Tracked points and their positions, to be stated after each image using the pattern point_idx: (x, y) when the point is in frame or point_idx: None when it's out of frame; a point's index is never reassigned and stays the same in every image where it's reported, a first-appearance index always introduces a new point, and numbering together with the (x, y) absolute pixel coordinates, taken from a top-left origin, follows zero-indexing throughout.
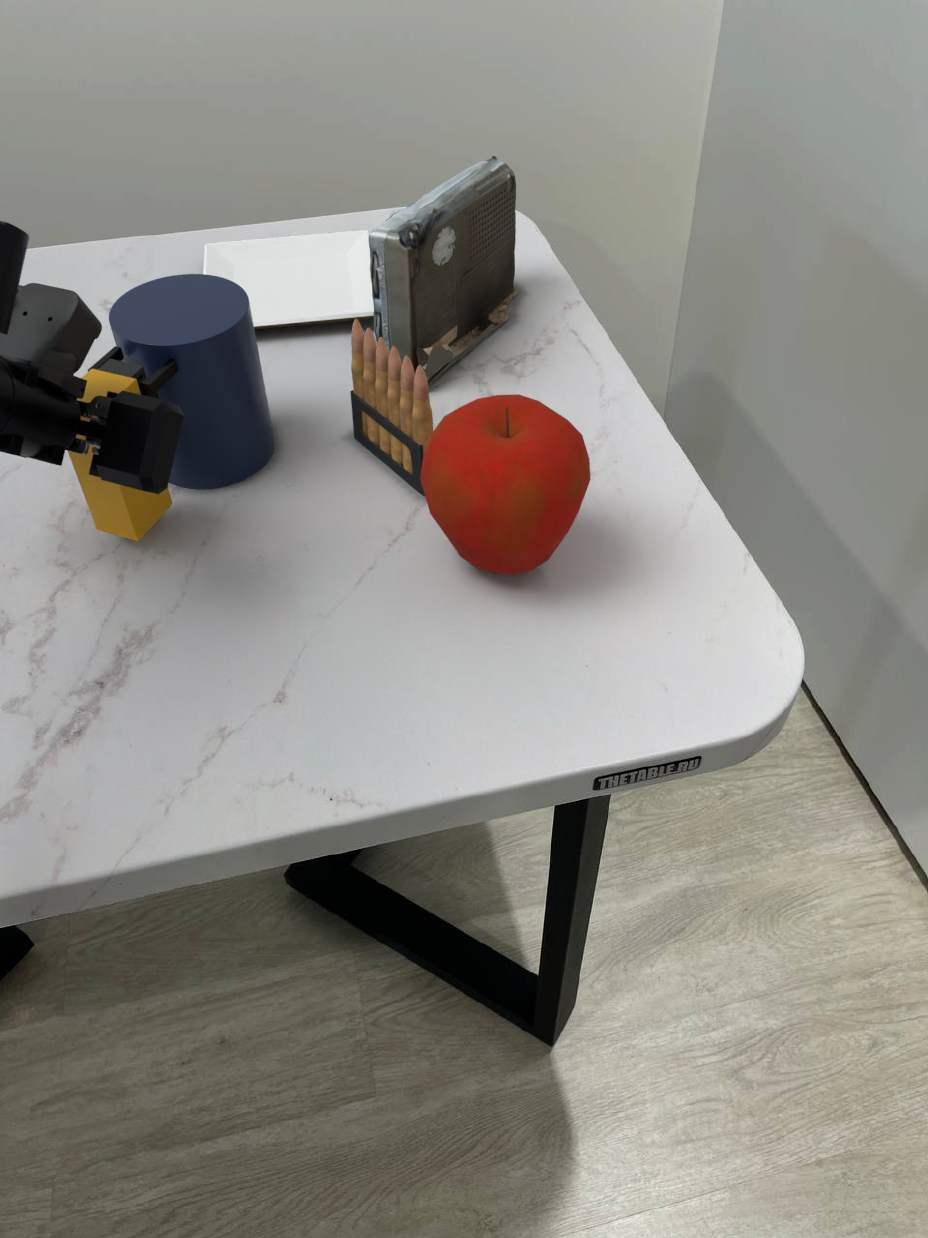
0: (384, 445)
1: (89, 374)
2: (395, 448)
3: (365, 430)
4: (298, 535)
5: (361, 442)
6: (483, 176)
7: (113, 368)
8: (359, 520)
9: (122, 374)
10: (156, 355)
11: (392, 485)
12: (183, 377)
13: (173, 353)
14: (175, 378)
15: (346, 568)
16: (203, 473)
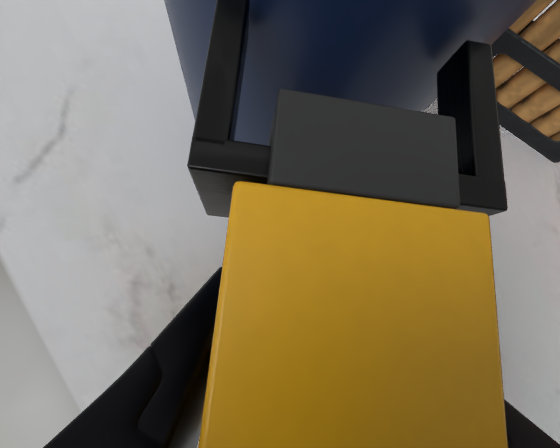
0: (514, 100)
1: (253, 234)
2: (544, 109)
3: None
4: None
5: None
6: None
7: (343, 160)
8: (514, 218)
9: (414, 198)
10: (420, 31)
11: (515, 151)
12: (430, 86)
13: (486, 17)
14: (409, 93)
15: (543, 303)
16: None
